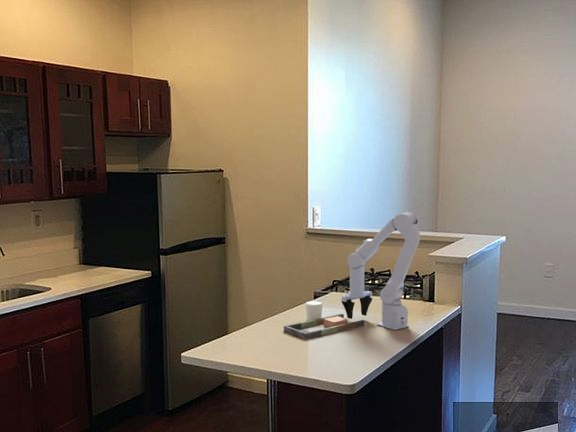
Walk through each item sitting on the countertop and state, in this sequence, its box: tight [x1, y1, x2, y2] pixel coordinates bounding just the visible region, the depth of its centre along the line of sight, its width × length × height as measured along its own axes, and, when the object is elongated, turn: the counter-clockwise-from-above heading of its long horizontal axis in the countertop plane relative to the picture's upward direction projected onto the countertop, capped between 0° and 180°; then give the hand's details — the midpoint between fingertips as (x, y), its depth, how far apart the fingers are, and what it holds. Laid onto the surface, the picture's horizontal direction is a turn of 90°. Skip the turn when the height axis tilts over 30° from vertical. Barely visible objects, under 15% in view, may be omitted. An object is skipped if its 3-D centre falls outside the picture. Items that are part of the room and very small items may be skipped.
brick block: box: [323, 316, 349, 328], centre depth 234 cm, size 6×7×3 cm
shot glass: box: [305, 300, 323, 321], centre depth 242 cm, size 7×7×7 cm
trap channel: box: [283, 313, 366, 340], centre depth 230 cm, size 13×29×2 cm, turn 127°
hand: (356, 316), depth 240 cm, fingers open, 7 cm apart
